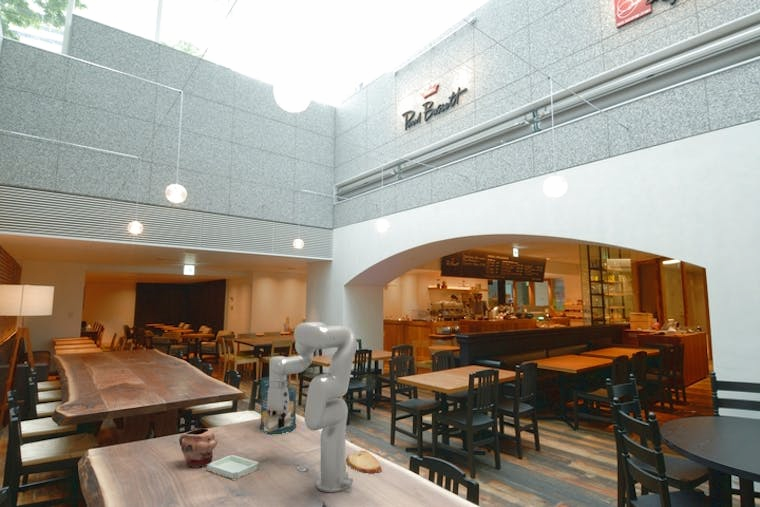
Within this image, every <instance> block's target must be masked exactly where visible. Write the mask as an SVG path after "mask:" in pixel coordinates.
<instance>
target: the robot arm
mask: <svg viewBox="0 0 760 507" xmlns="http://www.w3.org/2000/svg"><path fill="white" fill-rule="evenodd" d="M354 331H355V330H353V329H352V328H351V327H349V326H348V325H343V324H342V325H338V324H337V325H327V324H326V323H324V322H322V321H321V322H320V321H309V322H308V321H307V322H301V323H298V325H297V326H296V327H295V329H294V332H293V338H294V340H295V344H294V347H295V348H294V349H295V352H297V354H299V355H292V356H283V355H282V356H281V355H277V356H276V355H275V356H273V357H270V358H269V376H268V377H269V390H268V397H267V407H266V410H267V411H268V412H269V414H270V416H273V415H276V412H277V411H278V412H279V418H280V419H278V428H282V427H284V418H285V417H286V415H287V414H288V413H289V412H290V410H289V392H288V388H287V387H286V385H287V383H288V382H287V383H286V375H287V376H288V375H293V374H299V373H302V372H304V371H305V370H307V368H308V367H310V365H311V364H312V363H313V359H314V352H315V351H316V350H326V349H327V350H328V349H333V348H334V349H335V348H336V351H335V352H334V353H333V355H332V357H331V359H330V363H329V368H328V371H327V373H324V374H323V373H322V374H319V375H316V376H315V377H314V378H312V380H311V381H310V383H309V385H308V390H307V396H306V402H305V409H304V423H305V426H306V427H307V428H308V429H309V430H310V431H318V430H319V431H320V430H322V431H321V435H320V478H318V479H317V481H316V488H317V489H318V491H321V492H324V493H337V492H341V491H344V490H347V488H349V487H350V488H351V487H352V485H353V482H354V478H352V477H349V472H348V471H346V470H347V469H346V468H347V467H346V465H347V462H346V459H347V456H346V429H347V422H348V421H347V420H348V415H349V414H348V413H349V408H348V405H347V403H346V402H345V400H344V399H342V397H343V396H345V395H346V394H347V392H348V390H349V384H350V380H351V373H352V367H353V362H354V358H355V355H356V350H357V346H358V345H357V344H358V339H357V336H356V333H355V332H354ZM340 397H341V398H340ZM281 412H282V413H283V414H282V413H281Z"/></svg>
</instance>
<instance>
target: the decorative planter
mask: <svg viewBox="0 0 760 507" xmlns="http://www.w3.org/2000/svg"><path fill="white" fill-rule="evenodd" d="M178 443H179V446H180V449H181V452H182V454H183V457H184V459H185V462H186V466H187V465H188V466H187V467H189V466H192V467H191V468H200V467H199V466H202V467H205V466H207V465H206V464H209V463H210V462H211V463H212V462H213V457H214V456H213V450H215V448H216V447H217V445H218V440H217V438H216V437H215V434H214V433H213V430H212V429H209V428H196V429H193V430H190V431H187V432H186V433H183V434H181V435H180V437H179V438H178ZM204 465H205V466H204Z"/></svg>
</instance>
